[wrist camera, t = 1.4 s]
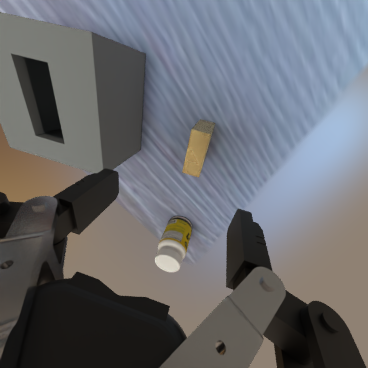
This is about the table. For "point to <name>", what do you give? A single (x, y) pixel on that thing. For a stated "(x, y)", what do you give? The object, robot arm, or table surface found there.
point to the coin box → (69, 94)
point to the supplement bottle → (173, 244)
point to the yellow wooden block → (198, 147)
